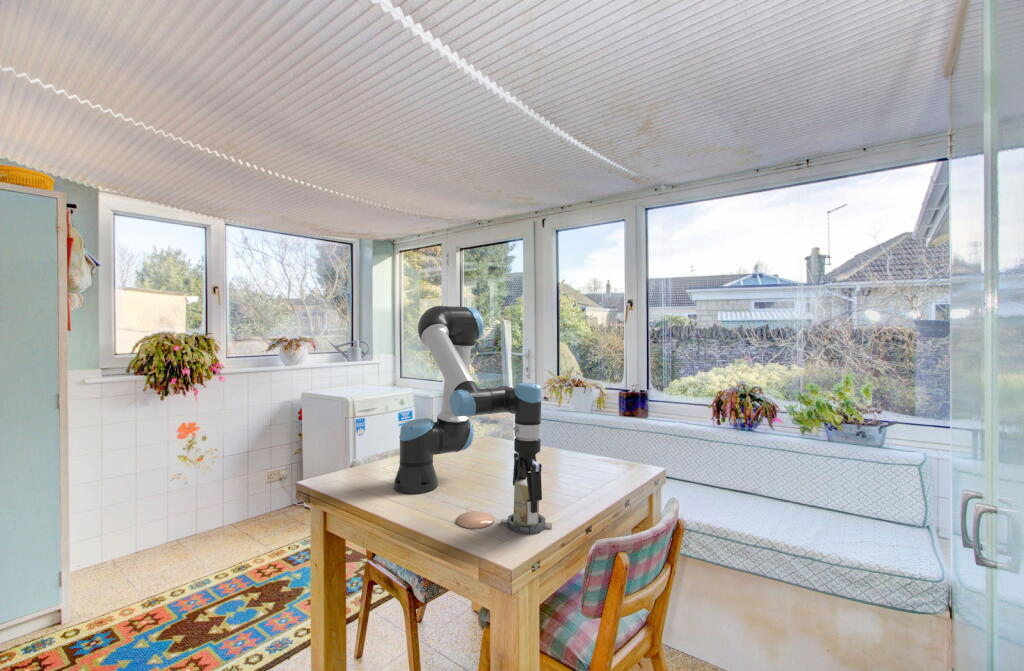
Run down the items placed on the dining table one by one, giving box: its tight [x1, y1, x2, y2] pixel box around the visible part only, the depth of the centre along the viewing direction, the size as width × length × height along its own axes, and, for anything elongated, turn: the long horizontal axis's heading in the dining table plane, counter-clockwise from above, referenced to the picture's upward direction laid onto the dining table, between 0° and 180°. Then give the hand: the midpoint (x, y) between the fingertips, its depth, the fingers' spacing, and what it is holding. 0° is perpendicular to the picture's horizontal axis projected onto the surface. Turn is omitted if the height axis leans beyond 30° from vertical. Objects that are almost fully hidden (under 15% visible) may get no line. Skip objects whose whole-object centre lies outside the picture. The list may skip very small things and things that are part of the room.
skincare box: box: [512, 479, 540, 526], centre depth 129 cm, size 6×4×12 cm
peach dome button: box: [456, 510, 495, 530], centre depth 132 cm, size 11×11×1 cm
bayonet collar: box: [500, 513, 553, 535], centre depth 129 cm, size 15×11×2 cm
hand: (526, 517), depth 129 cm, fingers closed on skincare box, 7 cm apart
